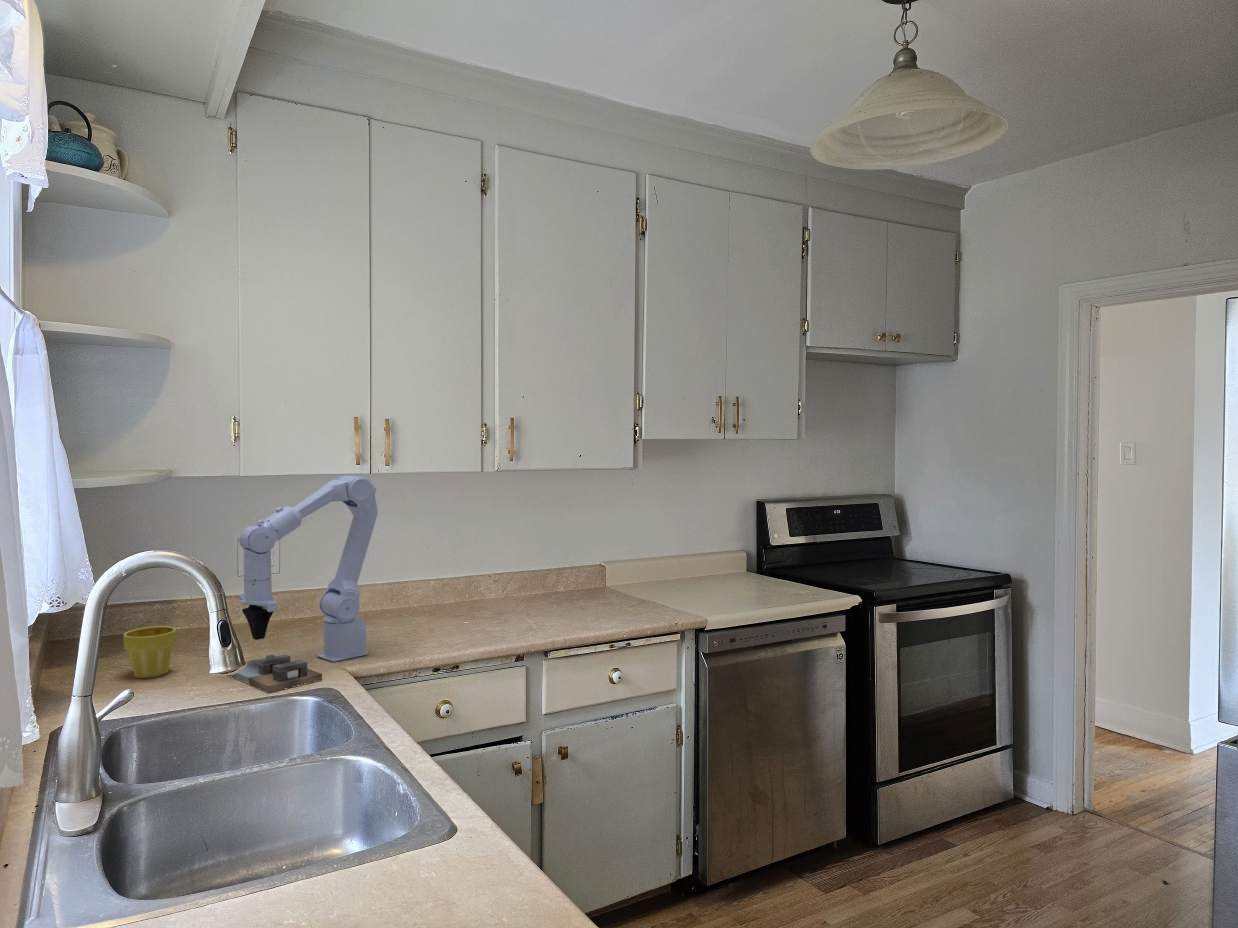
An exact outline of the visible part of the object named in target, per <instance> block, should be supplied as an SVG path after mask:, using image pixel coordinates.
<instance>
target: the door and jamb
mask: <svg viewBox="0 0 1238 928" xmlns="http://www.w3.org/2000/svg"><path fill="white" fill-rule="evenodd" d="M245 662H247V665H246V667H245V668H244V669H242V670H241V671H240V672H238V673H236V674H234V675H229V677H230V676H232V677H231V678H233V679H235V678H238V679H239V680H242V681H245V682H247V683H249V684H250V685H249V684H248V685H249V686H251V685H253V686H255V687H257V688H256V689H258V688H260V689H262V690H264V691H263V692H265V691H266V692H265V693H267V692H268V693H267V694H271V693H270V692H272V693H275V692H274V691H276V692H278V691H277V690H280V691H283V690H282V689H284V690H286V689H285V688H289V689H291V688H290V687H293V686H297V685H301V684H304V683H309V682H314V681H318V680H322V681H323V673H320V672H318V671H315V670H313V669H310V668H309V667H308V662H307V661H306V660H302V659H297V660H292V661H291V655H289V654H281V655H275V657H271V658H266V657H262V658H257V659H253V660H247V661H245ZM276 663H282V664H277V665H273V673H270V665H271V664H276ZM295 669H298V677H296V678H291V679H287V671H290V670H295ZM239 680H238V681H239ZM242 681H241V682H242ZM318 682H319V681H318ZM314 683H315V682H314ZM253 686H252V687H253ZM301 686H302V685H301ZM255 687H254V688H255ZM297 687H298V686H297ZM293 688H294V687H293ZM260 689H259V690H260ZM262 690H261V691H262Z"/></svg>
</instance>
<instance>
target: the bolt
mask: <svg viewBox="0 0 1238 928" xmlns="http://www.w3.org/2000/svg"><path fill="white" fill-rule="evenodd" d="M275 656H276V655H275V654H269V655H266V656H265V658H271V657H275ZM277 664H282V663H276V664H271V665H270V673H273V665H277ZM296 677H298V669H295V670H290V671H287V679H291V678H296Z"/></svg>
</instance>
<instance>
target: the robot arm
mask: <svg viewBox="0 0 1238 928" xmlns="http://www.w3.org/2000/svg"><path fill="white" fill-rule="evenodd" d="M372 482H373V481H371V479H369V478H368V477H366V476H363V475H357V476H356V475H350V474H342V475H341V474H340V475H339V476H337V477H336V479H332V480H330V481H328V482H327V483H326V484H325V485H323V486H322V487H321V488H318V489H317V490H316V491H314V492H313V493H312V494H310V495H309V496H307V497H306V498H305V499H304V500H302V501H300V502H299V503H297V505H295V506H293V507H292V506H288V505H285V506H284V507H282V506H278V507H276V508H275V512H274V513H272V514H271V515H269V516H268V517H266V518H263V519H259V520H257V525H249V526H247V527H246V528H245V529H244V530H243V531H242V533H240V534H241V535H240V537H239V538H238V543H239V545H240V547H241V548H242V549H243V589H244V590H243V594H239V597H238V598H239V601H238V604H240V605H248V606H247V607H246V608H242V609H241V610H242V614H244V616H245V618H246V621H247V623H248V626H249V629H250V633H251V637H252V639H253V640H255V641H256V640H257V641H258V640H264V639H265V637H266V633H267V630H268V626H269V622H270V619H271V617H272V616H273V614H274V612H276V611H279V608H278V607H279V604H278V603H279V602H278V601H276V600H275V599H274V597H273V595H272V594H273V591H272V590H273V589H272V587H273V586H272V583H273V582H272V554H271V553H272V551H271V550H272V549H273V548H274V546H275V544H276V542H278V541H280V540H282V539H283V538H284V537H286V536H287V535H289V534H290V533H292V532H293V531H296V530H297V529H298V528H300V526H301V525H302V523H303V522H302V521H303V519H304V518H305V517H308V516H309V515H311V514H313V513H315V512H316V511H318V510H319V509H322V508H323V507H325V506H326V505H328V504H330V503H332V502H342V503H343V504H345V505H346V506H347V508H348V509H349V511H350V512H351V514H352V520H351V523H350V527H349V530H348V533H347V536H346V541H345V544H344V546H343V550H342V553H341V556H340V561H339V563H338V566H337V570H336V574H335V576H334V578H333V579H332V580H331V581H330V582H329V583H328V585H327V588H326V590H325V592H324V593H323V594H322V595H321V597H320V599H319V603H318V606H319V610H320V612H322V614H323V616H324V617H323V652H322V653H321V652H320V653H317V654H316V657H318V658H320V659H323V660H327V661H330V662H333V663H334V662H340V661H344V660H348V659H354V658H358V657H362V656H367V655H369V652H368V651H367V626H366V623H365V621H364V619H363V618H362V617H360V616H358V614H359V611H360V607H361V606H360V595H361V590H360V588H359V584H358V581H359V579H360V576H361V572H362V568H363V564H364V562H365V559H366V554H367V552H368V548H369V545H370V540H371V539H372V534H373V532H374V531H373V530H374V527H375V524H376V521H377V517H378V512H379V511H378V505H377V500H376V492H377V488H376V487H375V485H374V484H373V483H372Z"/></svg>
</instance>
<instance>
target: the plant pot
mask: <svg viewBox="0 0 1238 928" xmlns="http://www.w3.org/2000/svg"><path fill="white" fill-rule="evenodd" d="M122 637H123V649H124V650H125V651H127V654H128V657H129V661H130V665H131V668H132V672H133V675H134V678H137V679H138V678H139V679H150V678H156V677H157V678H158V677H160V676H161V677H162V676H164V675H166V674H168V672H169V669H170V665H171V659H172V654H173V648H174V645H176V643H177V628H176V627H174V626H169V625H156V626H155V625H154V626H145V627H140V628H135V629H131V630H128V631H126V632H124V634H123V635H122Z"/></svg>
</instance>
